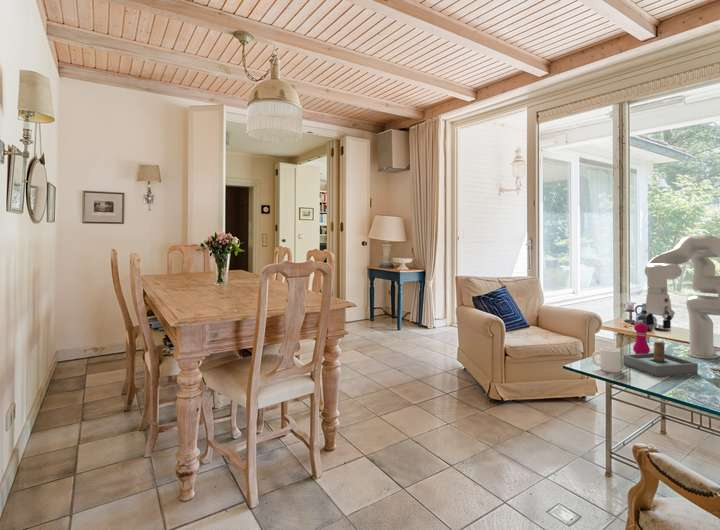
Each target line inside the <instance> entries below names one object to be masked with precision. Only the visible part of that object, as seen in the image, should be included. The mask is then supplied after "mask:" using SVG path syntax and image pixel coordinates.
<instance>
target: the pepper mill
mask: <svg viewBox="0 0 720 530" xmlns="http://www.w3.org/2000/svg"><path fill="white" fill-rule="evenodd" d="M633 327H634V328H633V329H634V331H635V337H636V339H635V342H634V344H633V348H632V349H633V351H634V354H645V353H651V348H650V347H649V344H648V342H647V336H648V331H649V327H648V325H647V323H644V321H643V320H642V319H640V320H639V321H638V323H635V324H634V325H633Z"/></svg>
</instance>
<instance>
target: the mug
mask: <svg viewBox="0 0 720 530" xmlns="http://www.w3.org/2000/svg"><path fill="white" fill-rule="evenodd" d="M597 355H600V357H599V359H600V362H598V361H596V356H597ZM591 361H592V362H593V364H594V365H595V366H597V367H598V366H599V367H600V369H602V370H601V371H603V372H605V371H606V373H610V372H611V373H613V374H614V373H620V372H621V370H622V369H621V366H622V365H621V364H622V363H621V362H622V361H621V349H620V348H616V347H608V346H607V347H605V346H604V347H600V348H599V350H596V351H594V352H593V353H592V354H591ZM611 373H610V374H611Z"/></svg>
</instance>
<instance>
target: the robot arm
mask: <svg viewBox="0 0 720 530" xmlns="http://www.w3.org/2000/svg"><path fill="white" fill-rule="evenodd" d="M711 258H720V238H719V237H718V236H714V235H709V234H706V235H705V234H704V235H703V234H702V235H687V236H685V237H683V238H682V239H680V241H678V242H677V244H676V245H675V246H674V247H673V248H672V249H671V250H669V251H666V252H663V253H660V254H658V255H656V256H654V257H652V259H650V261H648V263H647V264H646V265H645V268H644V274H645V276H646V279H647V293H646V299H645V300H646V301H645V302H646V303H645V305H644V306H642V310H643V313H644V314H645V315H644V316H645V320H646V325H647V326H650V325H652V326H653V325H654V320H655V319H654V318H655V317H654V316H653V315H656V316H661V317H662V318H663V319H662V328H663V329H664V330H667V329H668V330H669V329H672V325H671V323H672V319H673V318H674V316H675V313H676V311H674V310H672V302H671V298H670V295H669V294H668V292H669V290H668V280H675V279H678V278H679V277H680V276H681V275H682V271H683V270H682V268H681V266H680V265H683V264H686V263H688V262H690V260H691V262H692V264H693V275H692V290H693V291H694V292H695V293H699V294H712V295H717V296H712V295H711V296H710V295H698V294H697V295H691V296H689V297H688V298H687V299H686V308H687V313H688V324H689V329H688V330H689V350H687V351H685V355H686V356H689V357H692V358H696V359H707V360H708V359H709V360H712V359H718V357H719V355H718V354H717V352H719V353H720V347H714V343H715V342H714V322H713V320H712V318H711V317H710V316H715V317H716V316H718V317H720V275H716V264H715V263H714V262H713V260H712V259H711Z"/></svg>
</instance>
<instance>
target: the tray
mask: <svg viewBox="0 0 720 530" xmlns="http://www.w3.org/2000/svg"><path fill="white" fill-rule="evenodd" d="M623 366H625V367H628V368H631V369H633V370H636V371H638V370H639V372H641V373H643V372H644V374H646V373H647V374H646V375H648V374H649V376H651V375H652V376H651V377H653V378H656V377H657V378H667V376H670V377H678V376H677V375H683V376H689V375H688V374H696V375H699V374H698V373H699V372H698V363H696V362H694V361H690V360H687V359H684V358H680V357H677V356H674V355H671V354H668V353H665V352H664V363H655V362H654V352H649V353H645V354H635V353H634V354H633V353H632V354H623Z"/></svg>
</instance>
